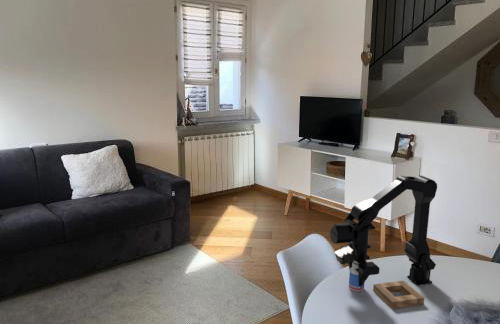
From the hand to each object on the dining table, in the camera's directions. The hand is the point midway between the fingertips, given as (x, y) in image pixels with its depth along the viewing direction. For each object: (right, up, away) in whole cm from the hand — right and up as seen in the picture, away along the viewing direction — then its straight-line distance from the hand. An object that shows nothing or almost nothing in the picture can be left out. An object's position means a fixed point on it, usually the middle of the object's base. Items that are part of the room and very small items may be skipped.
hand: (356, 281), depth 155 cm
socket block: (+13, -4, -5) cm, 14 cm away
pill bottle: (0, -3, +1) cm, 3 cm away
